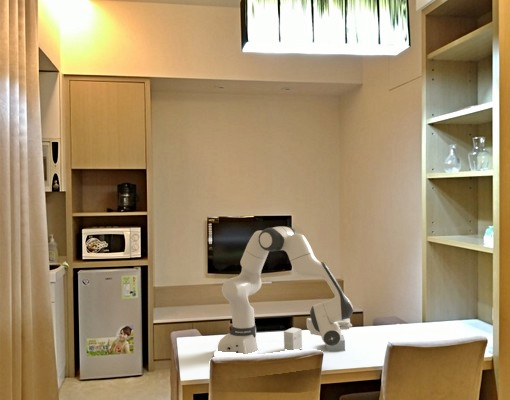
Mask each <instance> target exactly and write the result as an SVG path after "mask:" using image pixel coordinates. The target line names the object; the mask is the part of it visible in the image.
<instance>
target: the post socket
mask: <svg viewBox="0 0 510 400" xmlns="http://www.w3.org/2000/svg"><path fill="white" fill-rule="evenodd" d="M325 350H326V351H346V340H345V336H344V334H341V340H340V342H339V343H338V344H337V345H335V346H328V345H326V344H325Z"/></svg>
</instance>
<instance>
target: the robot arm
mask: <svg viewBox="0 0 510 400" xmlns="http://www.w3.org/2000/svg"><path fill="white" fill-rule="evenodd" d="M278 251H279V252H280V251H284V252H286V254H287V256H288V259H289V261H290V265H291V266H292V267H291V268H292V269H293V271H294V272H295V273H296V274H297V275H298V276H301V277H303V278H305V277H306V278H321V279H323V280H324V281H325V282H326V283H327V285H328V286H329V288H330V290H331V291H332V294H334V297H332V298H331V299H328V300H325V301H322V302H319V303H315V304H314V305H312V306H311V309H310V312H309V315H310V317H307V318H306V329H307V330H308V331H309V332H310V335H314V336H319V337H321V340H322V342H323V344H325V346H326V345H328V346H335V345H337V344H338V343H339V342H340V340H341V335H342V330H345V331H346V330H350V329H351V328H353V324H352V323H351V317H352V315H353V313H354V306H353V304H352V302H351V300H350V298H348V297H347V296H346V294H345V293H344V291H343V289H342V287H341V286H340V284H339V283H338V280H337V279H336V278H335V276H334V274H333V272H331V269H330V268H329V267H328V265H327V264H326V263H325V262H321V261H320V260H319V259H318V258H317V257H316V256H315V253H314V250H313V249H312V247H311V244H310V243H309V241H308V239H307V237H306V236H305V235H303V234H302V233H298V232H297V231H296V229H295V228H293V227H291V226H288V225H287V226H274V227H266V228H265V229H263V230H256V231H255V232H254V233H253V234H252V236H251V237H250V238H249V241H248V242H247V245H246V246H245V249H244V252H243V253H242V257H241V259H240V262H239V263H240V266H241V272H240V273H239V274H238V275H237V276H233V277H231V278H229V279H227V280H226V281H224V282H223V284H222V285H221V292H222V296H223V298H225V299H226V300H227V301H228V303H229V306H230V310H231V322H232V323H230V324H228V330H227V331H228V333H227V334H225V335H224V336H223V337H222V338H221V339H220V340H219V342H218V344H217V348H218V351H222V352H236V353H243V354H248V353H252V352H255V351H257V350H258V351H259V349H258V345H257V344H258V343H257V337H256V336H257V326H256V323H255V321H256V320H255V308H254V307H253V306H252V305H251V304H250V302H249V296H253V295H254V294H256V293H257V292H258V291H260V289H261V288H262V285H263V284H262V279H261V275H262V270H263V267H264V265H265V262H266V260H267V257H268V255H269V253H270V252H278Z"/></svg>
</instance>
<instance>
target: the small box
mask: <svg viewBox="0 0 510 400" xmlns="http://www.w3.org/2000/svg"><path fill="white" fill-rule="evenodd" d="M302 330H303V329H302V328H298V327H291V328H288V329H286V330H283V344H284V345H283V347H284V349H287V350H294V349H300V348H302V349H303V337H302V336H303V333H302ZM284 349H283V350H284Z"/></svg>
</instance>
